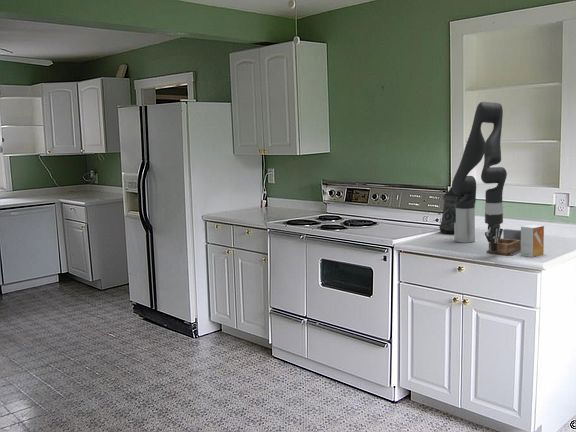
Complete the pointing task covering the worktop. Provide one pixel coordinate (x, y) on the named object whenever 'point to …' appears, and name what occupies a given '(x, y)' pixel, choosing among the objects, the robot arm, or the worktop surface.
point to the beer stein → (449, 212)
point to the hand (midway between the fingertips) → (494, 251)
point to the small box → (532, 240)
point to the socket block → (506, 246)
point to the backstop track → (511, 235)
